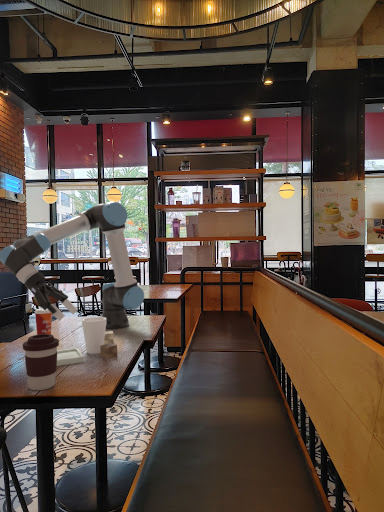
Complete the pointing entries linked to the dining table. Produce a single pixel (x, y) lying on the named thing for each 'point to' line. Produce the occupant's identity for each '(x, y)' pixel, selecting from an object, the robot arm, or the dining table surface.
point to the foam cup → (94, 333)
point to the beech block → (109, 337)
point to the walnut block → (108, 351)
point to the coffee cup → (41, 361)
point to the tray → (69, 356)
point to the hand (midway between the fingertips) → (69, 315)
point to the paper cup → (43, 321)
